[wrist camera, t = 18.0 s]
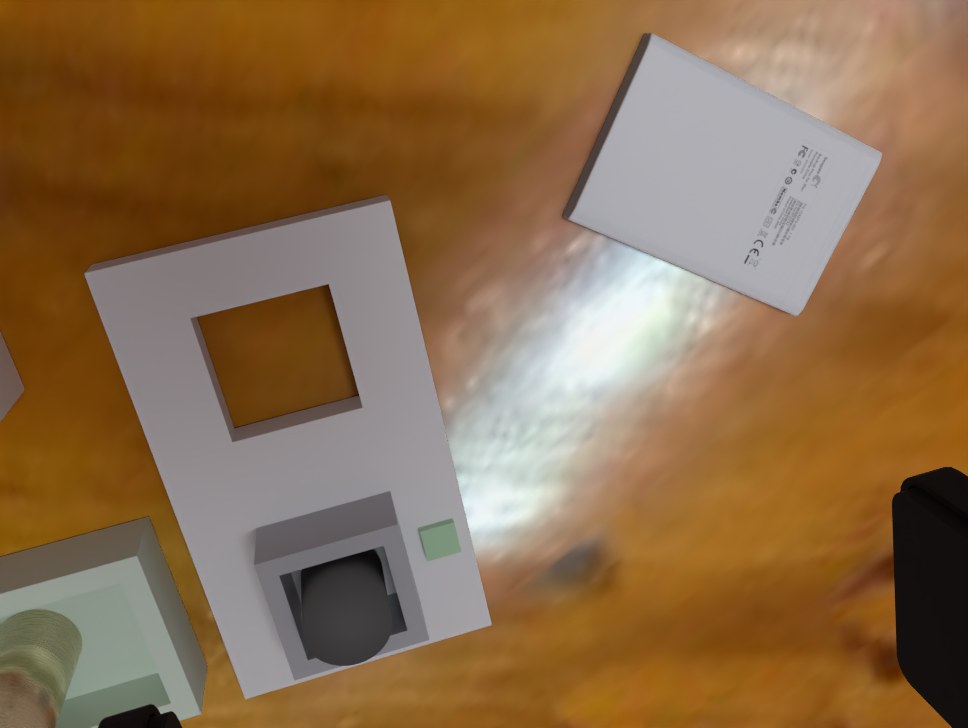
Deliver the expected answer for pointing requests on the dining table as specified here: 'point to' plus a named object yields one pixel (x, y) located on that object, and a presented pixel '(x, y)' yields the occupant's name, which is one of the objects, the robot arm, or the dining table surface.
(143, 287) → the checker
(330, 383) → the dining table surface
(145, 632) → the pale green trough
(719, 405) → the dining table surface
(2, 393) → the white open box
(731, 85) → the external hard drive
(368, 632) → the test button
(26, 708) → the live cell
